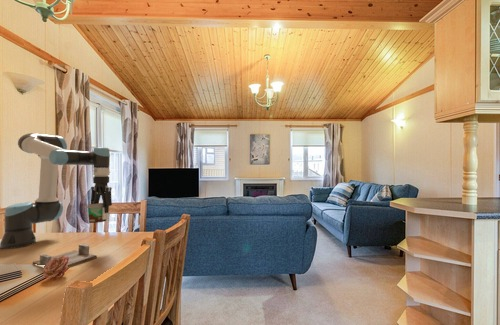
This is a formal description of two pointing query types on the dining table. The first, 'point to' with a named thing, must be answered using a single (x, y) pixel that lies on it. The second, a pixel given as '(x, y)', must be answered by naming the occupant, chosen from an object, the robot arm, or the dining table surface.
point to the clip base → (70, 256)
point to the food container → (95, 212)
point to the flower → (56, 267)
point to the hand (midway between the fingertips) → (100, 218)
